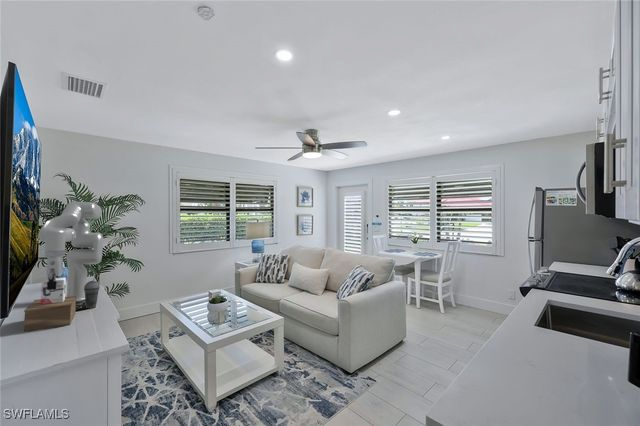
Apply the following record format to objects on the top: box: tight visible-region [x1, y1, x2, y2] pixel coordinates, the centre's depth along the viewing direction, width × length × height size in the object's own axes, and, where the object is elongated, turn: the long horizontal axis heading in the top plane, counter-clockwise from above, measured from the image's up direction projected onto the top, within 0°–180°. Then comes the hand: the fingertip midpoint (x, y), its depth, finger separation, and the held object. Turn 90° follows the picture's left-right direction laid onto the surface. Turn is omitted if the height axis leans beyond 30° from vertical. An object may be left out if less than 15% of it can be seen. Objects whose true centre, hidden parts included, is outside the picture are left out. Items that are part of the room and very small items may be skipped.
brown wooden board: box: [23, 296, 77, 313], centre depth 141 cm, size 18×16×1 cm
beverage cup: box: [84, 273, 100, 309], centre depth 164 cm, size 7×7×20 cm
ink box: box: [40, 277, 67, 304], centre depth 142 cm, size 8×5×12 cm, turn 125°
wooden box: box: [23, 299, 77, 332], centre depth 141 cm, size 18×16×9 cm
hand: (53, 287), depth 142 cm, fingers open, 9 cm apart
